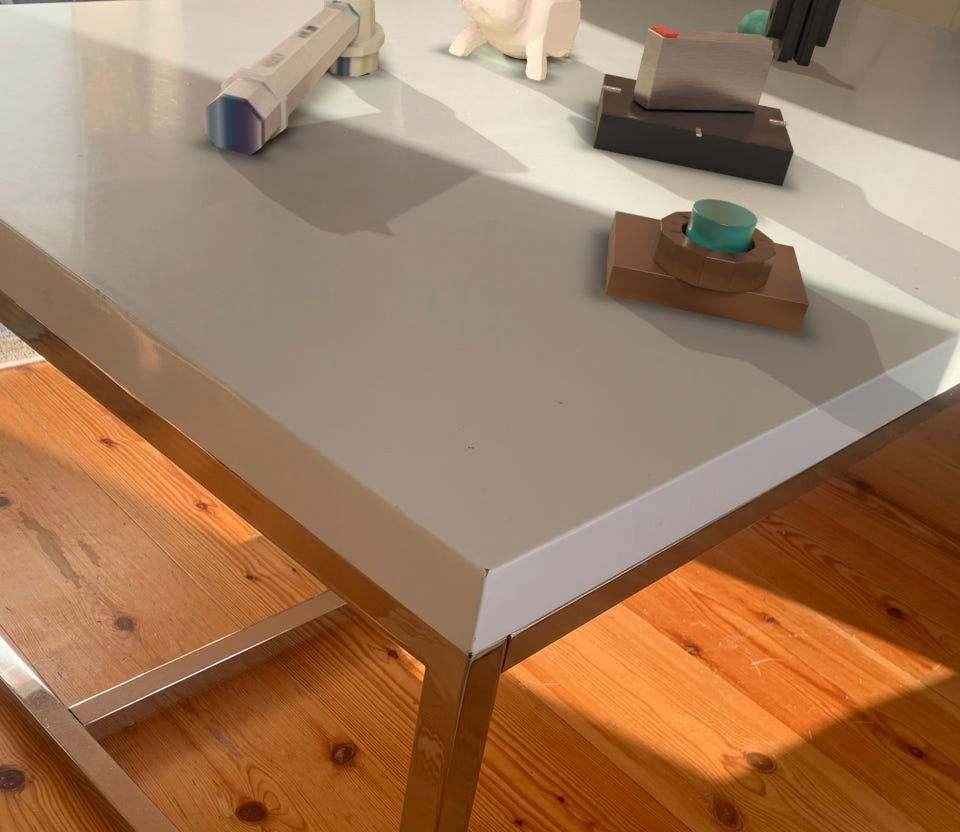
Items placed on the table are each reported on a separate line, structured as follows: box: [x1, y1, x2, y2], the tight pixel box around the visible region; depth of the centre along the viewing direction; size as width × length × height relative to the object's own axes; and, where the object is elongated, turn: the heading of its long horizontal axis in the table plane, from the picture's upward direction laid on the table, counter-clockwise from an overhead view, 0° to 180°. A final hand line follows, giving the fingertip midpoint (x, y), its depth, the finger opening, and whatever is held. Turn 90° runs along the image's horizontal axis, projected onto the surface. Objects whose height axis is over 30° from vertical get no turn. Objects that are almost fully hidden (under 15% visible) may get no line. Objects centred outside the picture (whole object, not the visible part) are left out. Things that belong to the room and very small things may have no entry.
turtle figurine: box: [735, 9, 773, 41], centre depth 114 cm, size 6×7×4 cm
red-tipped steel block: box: [632, 24, 774, 112], centre depth 83 cm, size 10×2×5 cm, turn 114°
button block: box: [605, 210, 810, 334], centre depth 64 cm, size 11×9×4 cm
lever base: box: [593, 73, 795, 187], centre depth 85 cm, size 14×14×3 cm
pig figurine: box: [448, 0, 582, 81], centre depth 93 cm, size 9×8×15 cm
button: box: [685, 198, 758, 253], centre depth 62 cm, size 4×4×2 cm
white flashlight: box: [203, 0, 386, 156], centre depth 78 cm, size 5×7×25 cm
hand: (789, 56), depth 57 cm, fingers closed
